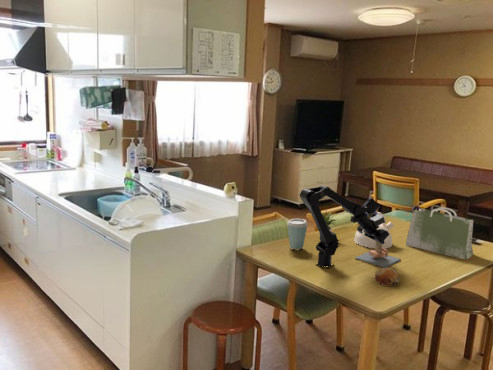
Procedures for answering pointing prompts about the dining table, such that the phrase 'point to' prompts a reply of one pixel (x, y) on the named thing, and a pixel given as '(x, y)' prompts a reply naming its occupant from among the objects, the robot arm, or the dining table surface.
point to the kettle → (371, 243)
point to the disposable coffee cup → (297, 232)
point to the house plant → (328, 219)
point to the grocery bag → (441, 233)
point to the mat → (378, 260)
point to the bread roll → (387, 277)
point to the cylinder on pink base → (378, 251)
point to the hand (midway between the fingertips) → (381, 242)
